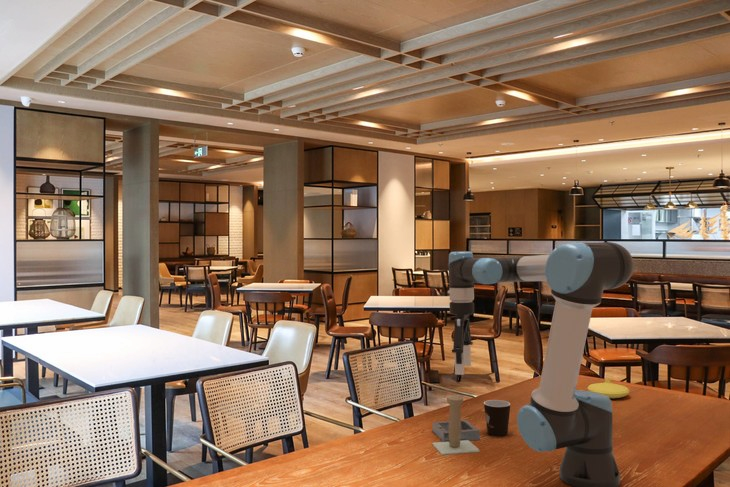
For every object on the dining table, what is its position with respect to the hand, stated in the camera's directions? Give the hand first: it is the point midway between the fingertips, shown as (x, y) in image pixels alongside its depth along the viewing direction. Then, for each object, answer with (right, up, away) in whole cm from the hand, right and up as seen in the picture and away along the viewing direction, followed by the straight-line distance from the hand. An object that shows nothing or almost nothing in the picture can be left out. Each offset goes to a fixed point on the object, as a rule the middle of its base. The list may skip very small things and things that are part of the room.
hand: (463, 370), depth 191 cm
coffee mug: (+14, -24, +14) cm, 31 cm away
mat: (-2, -24, -1) cm, 24 cm away
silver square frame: (-1, -24, +11) cm, 26 cm away
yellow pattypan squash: (+68, -23, +57) cm, 91 cm away
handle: (-3, -24, 0) cm, 24 cm away
